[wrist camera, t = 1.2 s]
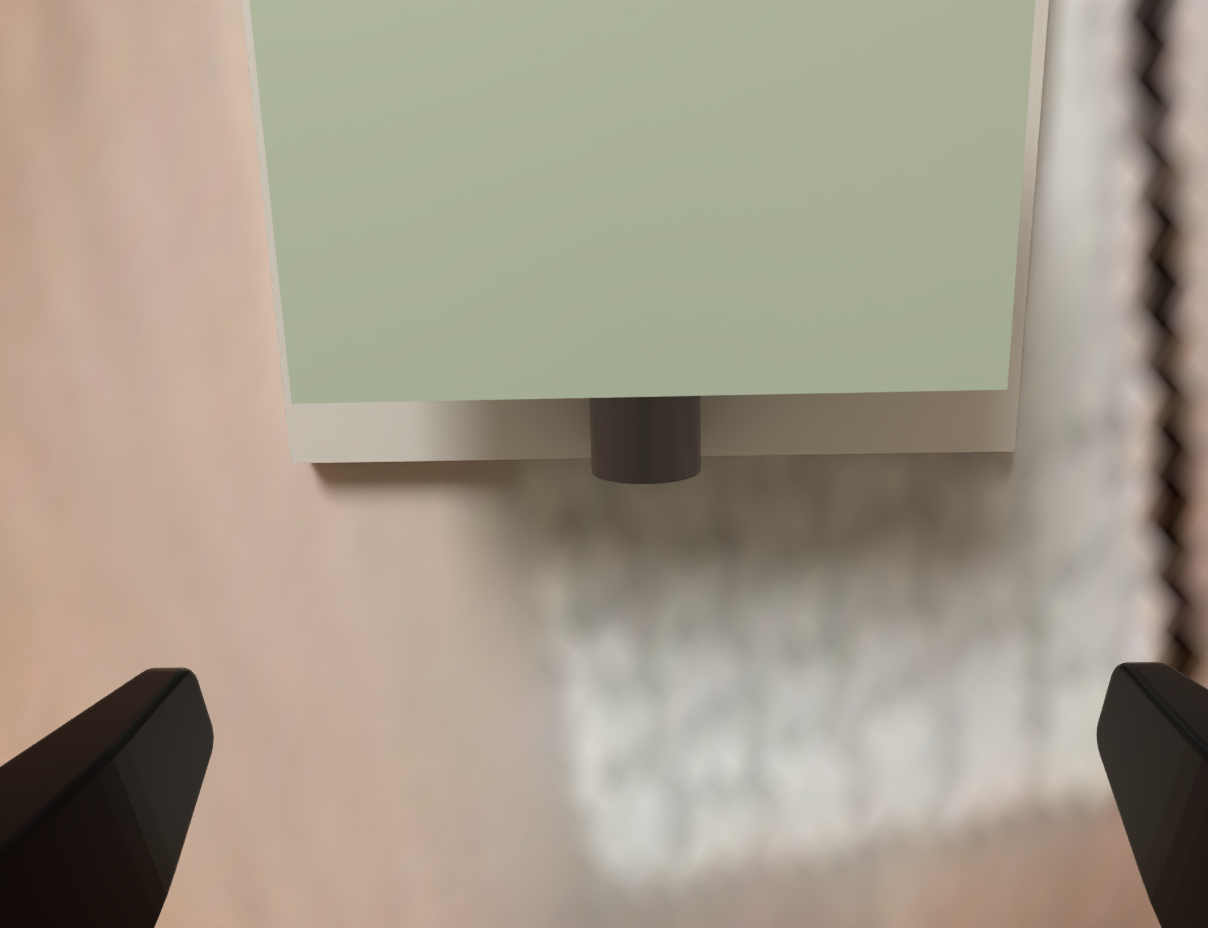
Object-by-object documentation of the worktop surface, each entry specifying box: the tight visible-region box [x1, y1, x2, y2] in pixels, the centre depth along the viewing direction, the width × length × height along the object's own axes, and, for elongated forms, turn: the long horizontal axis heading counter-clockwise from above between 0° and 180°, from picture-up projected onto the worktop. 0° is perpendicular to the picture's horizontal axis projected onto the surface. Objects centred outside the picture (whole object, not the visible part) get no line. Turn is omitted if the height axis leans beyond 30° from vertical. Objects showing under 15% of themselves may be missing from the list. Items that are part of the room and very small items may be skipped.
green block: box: [249, 0, 1035, 404], centre depth 15 cm, size 6×10×4 cm, turn 92°
